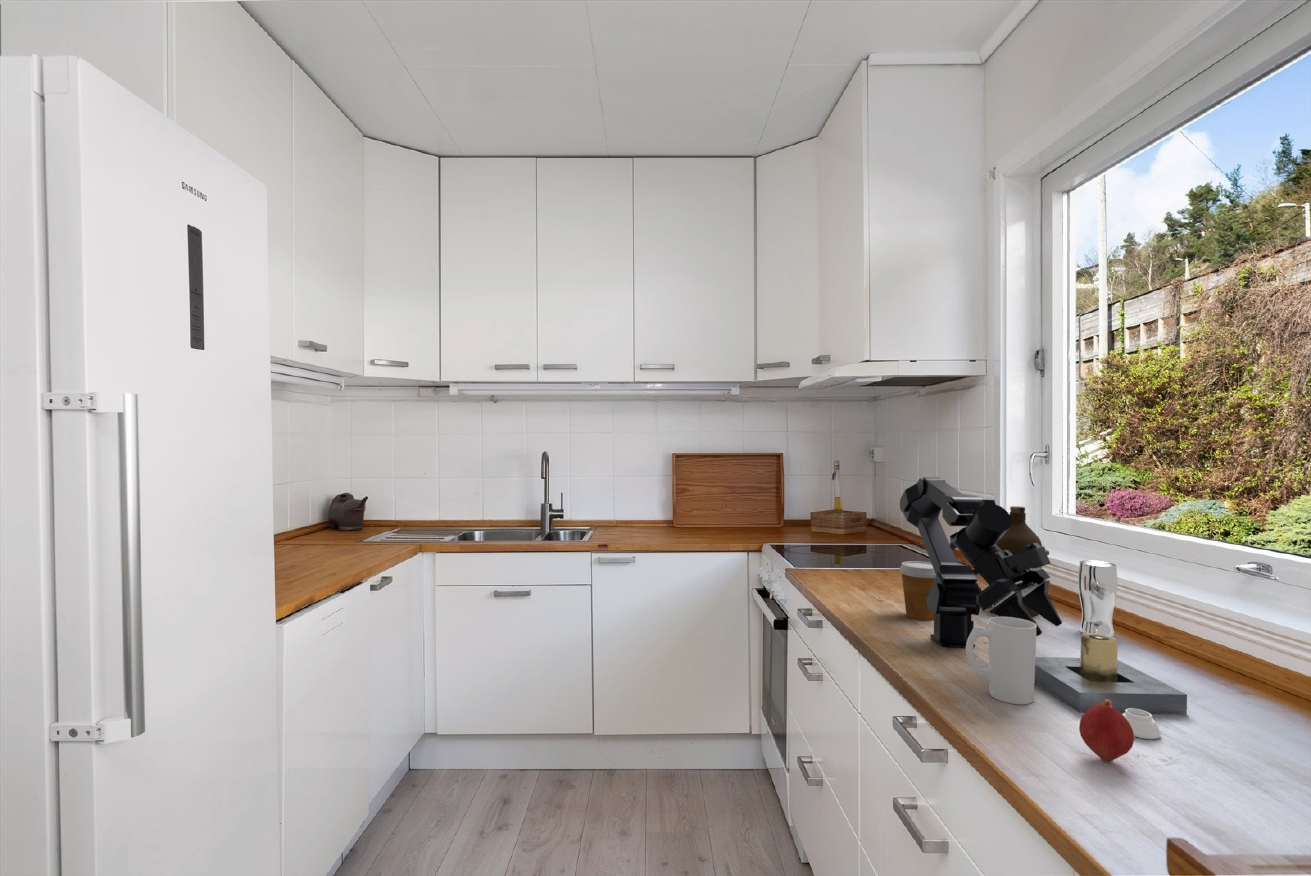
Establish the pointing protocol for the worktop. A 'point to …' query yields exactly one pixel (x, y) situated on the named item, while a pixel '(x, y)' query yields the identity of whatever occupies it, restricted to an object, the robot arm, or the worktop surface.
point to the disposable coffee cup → (917, 588)
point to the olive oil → (1018, 537)
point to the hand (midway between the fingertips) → (1050, 629)
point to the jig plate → (1108, 688)
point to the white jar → (1142, 724)
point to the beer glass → (1097, 596)
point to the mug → (1007, 658)
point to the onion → (1106, 731)
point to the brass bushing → (1098, 657)
